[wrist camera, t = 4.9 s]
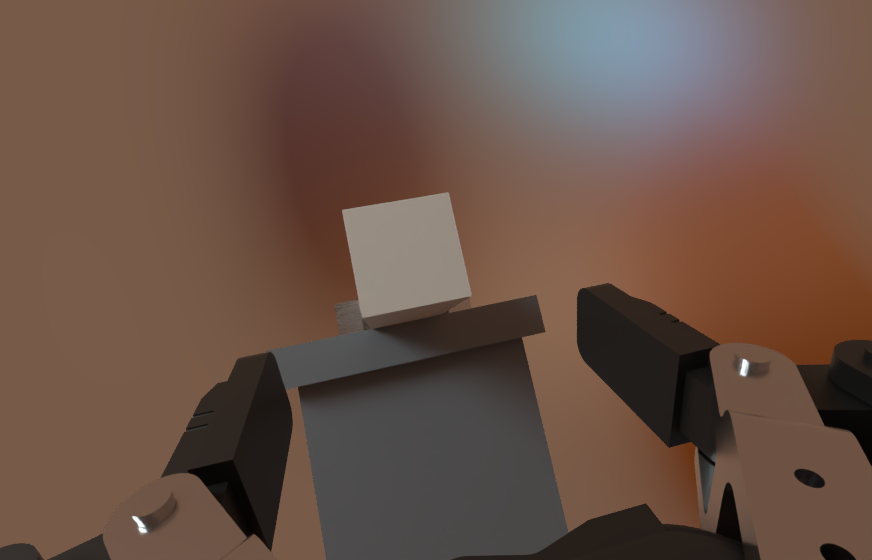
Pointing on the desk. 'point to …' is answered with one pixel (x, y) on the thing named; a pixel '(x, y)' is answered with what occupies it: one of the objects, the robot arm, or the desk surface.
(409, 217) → the tall white box
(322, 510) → the grey pedestal
